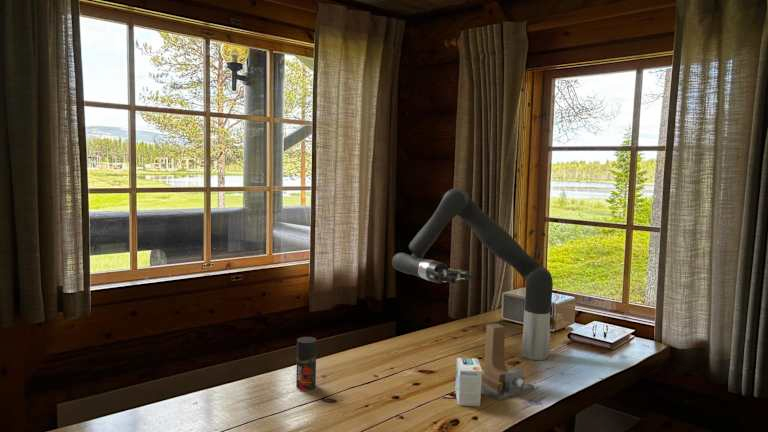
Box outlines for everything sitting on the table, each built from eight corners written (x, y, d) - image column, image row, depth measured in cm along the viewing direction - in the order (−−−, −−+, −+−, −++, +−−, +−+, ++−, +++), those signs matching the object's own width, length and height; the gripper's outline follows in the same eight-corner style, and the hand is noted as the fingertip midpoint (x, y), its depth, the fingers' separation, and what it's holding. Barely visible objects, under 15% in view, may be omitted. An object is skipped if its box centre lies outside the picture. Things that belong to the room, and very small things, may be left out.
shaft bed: (501, 374, 186) (502, 354, 185) (538, 390, 173) (539, 369, 173) (466, 384, 177) (467, 362, 176) (502, 402, 164) (503, 379, 164)
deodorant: (318, 384, 173) (319, 338, 171) (310, 392, 167) (311, 344, 166) (301, 381, 175) (302, 335, 173) (292, 389, 169) (293, 341, 167)
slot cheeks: (498, 373, 184) (498, 365, 184) (524, 384, 176) (524, 376, 175) (472, 380, 178) (472, 372, 177) (497, 392, 169) (497, 384, 168)
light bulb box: (454, 390, 172) (456, 357, 171) (476, 391, 172) (477, 357, 170) (458, 405, 161) (459, 370, 160) (481, 406, 161) (483, 371, 160)
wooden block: (511, 387, 173) (514, 331, 171) (498, 388, 172) (501, 332, 170) (495, 376, 182) (498, 323, 180) (483, 377, 180) (486, 324, 178)
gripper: (418, 262, 197) (449, 270, 184) (447, 259, 206) (479, 267, 193) (417, 283, 198) (448, 292, 185) (446, 279, 206) (478, 288, 193)
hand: (464, 279), depth 189 cm, fingers open, 8 cm apart
